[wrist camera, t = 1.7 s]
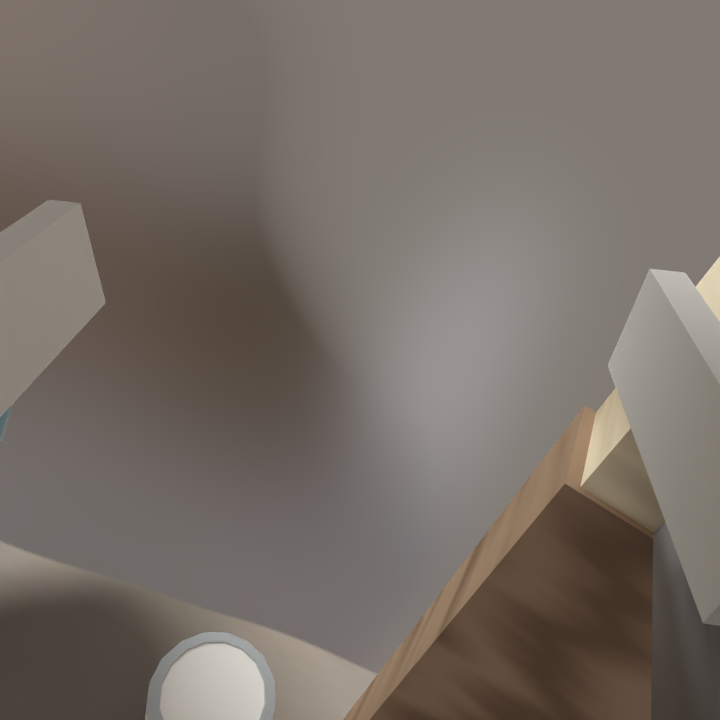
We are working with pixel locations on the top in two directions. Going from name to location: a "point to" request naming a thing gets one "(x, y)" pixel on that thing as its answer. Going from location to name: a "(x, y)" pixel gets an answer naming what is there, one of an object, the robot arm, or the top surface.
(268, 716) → the white cup
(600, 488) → the beige wooden block
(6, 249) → the robot arm
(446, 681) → the brown wooden tall block
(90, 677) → the top surface
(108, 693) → the top surface
